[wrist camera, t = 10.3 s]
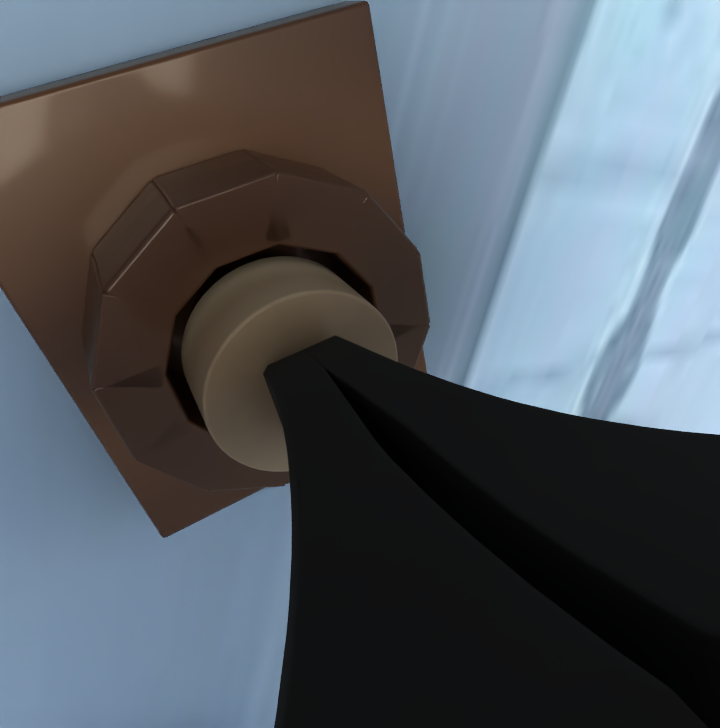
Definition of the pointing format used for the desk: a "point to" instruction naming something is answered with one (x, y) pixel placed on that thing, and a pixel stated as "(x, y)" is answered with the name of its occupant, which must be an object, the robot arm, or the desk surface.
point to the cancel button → (267, 346)
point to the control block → (196, 225)
